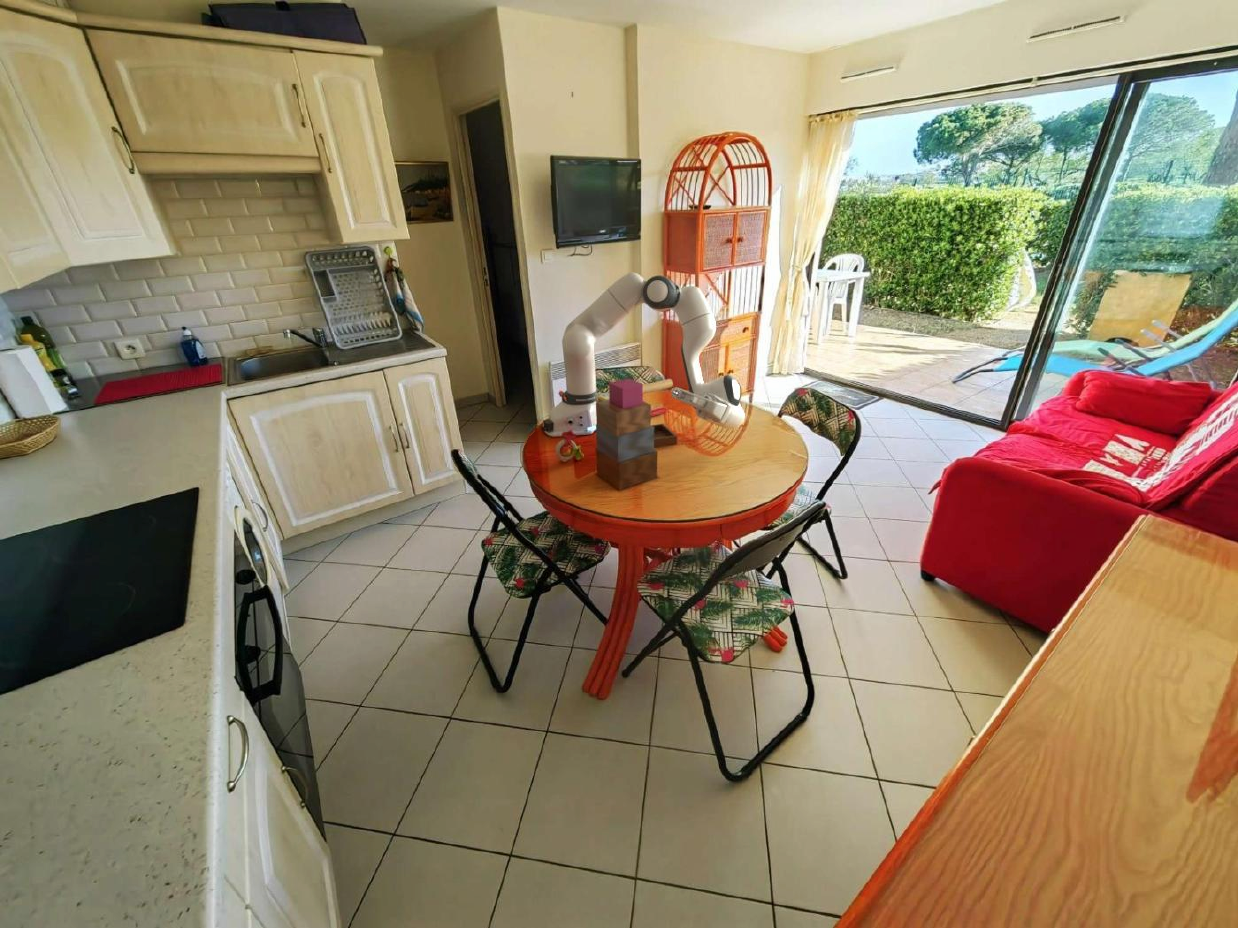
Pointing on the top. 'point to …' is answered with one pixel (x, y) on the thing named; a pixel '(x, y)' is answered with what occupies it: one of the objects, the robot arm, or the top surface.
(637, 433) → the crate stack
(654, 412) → the candy bar
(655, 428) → the walnut tray
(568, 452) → the bird rattle
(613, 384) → the mulberry block
